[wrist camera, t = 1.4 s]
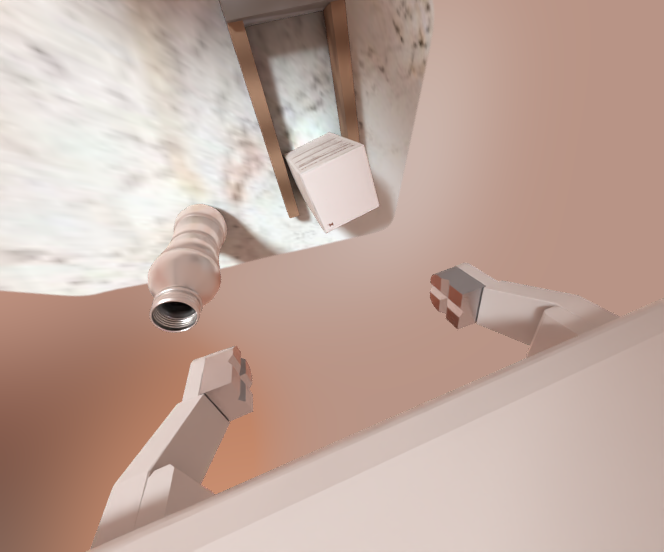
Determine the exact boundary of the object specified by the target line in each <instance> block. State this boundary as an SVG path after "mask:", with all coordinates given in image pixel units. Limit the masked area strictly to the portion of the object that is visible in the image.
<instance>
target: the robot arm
mask: <svg viewBox="0 0 664 552" xmlns="http://www.w3.org/2000/svg"><path fill="white" fill-rule="evenodd" d="M430 282H431V284H432V285H433V288H432V289H431V291H430V299H431V301H432V304H433V305H434V307H435V308H436V309H437V310H438V311H439V312H442V313H445V314H446V319H447V320H448V321H449V322H450V323H451V324H452V325H453V326H454V327H455V328H457V329H460V328H462V327H465V326H468V325H471V324H473V323H476V322H477V324H479V325H481V326H483V327H486V328H488V329H491V330H493V331H495V332H498V333H500V334H503V335H505V336H508V337H510V338H512V339H515V340H517V341H520V342H522V343H525V344H527V345H530V347H529V349H528V352H527V354H526V359H523V360H521V361H519V362H517V363H514V364H512V365H510V366H508V367H505V368H503V369H501V370H498V371H496V372H494V373H492V374H489V375H487V376H485V377H482V378H480V379H478V380H476V381H473V382H471V383H469V384H467V385H464V386H462V387H460V388H457V389H455V390H453V391H450V392H448V393H446V394H444V395H441V396H439V397H437V398H434V399H432V400H430V401H428V402H425V403H423V404H421V405H418V406H416V407H414V408H412V409H409V410H407V411H405V412H403V413H400V414H398V415H396V416H393V417H391V418H389V419H387V420H384V421H382V422H380V423H378V424H375V425H373V426H371V427H368V428H366V429H364V430H362V431H359V432H357V433H355V434H353V435H350V436H348V437H346V438H344V439H341V440H339V441H337V442H334V443H332V444H330V445H328V446H325V447H323V448H321V449H319V450H316V451H314V452H311V453H309V454H307V455H305V456H302V457H300V458H298V459H296V460H293V461H291V462H289V463H286V464H284V465H282V466H280V467H277V468H275V469H273V470H270V471H268V472H266V473H264V474H261V475H259V476H257V477H255V478H252V479H250V480H248V481H245V482H243V483H241V484H239V485H236V486H234V487H232V488H229V489H227V490H225V491H223V492H221V493H218V494H216V495H215V494H214V493H213V492H212V491H211V490H209V489H207V488H206V487H204V486H203V485H201V483H202V481H203V479H204V476H205V475H206V473H207V470H208V468H209V466H210V464H211V462H212V460H213V458H214V455H215V453H216V451H217V449H218V447H219V445H220V443H221V440H222V438H223V436H224V434H225V432H226V430H227V427H228V426H229V423H230V422H229V421H231V420H234V419H236V418H239V417H241V416H243V415H246V414H248V413H250V412H253V394H252V393H251V391H250V390H249V388H250V387H251V385H252V375H251V370H250V367H249V365H248V363H247V361H246V360H245V359H243V358H241V351H240V350H239V349H238V347H237V346H233V347H230V348H227V349H224V350H221V351H218V352H215V353H212V354H210V355H207V356H204V357H201V358H198V359H195V360H193V362H192V363H191V365H190V370H189V374H188V378H187V383H186V387H185V391H184V396H183V400H182V402H181V403H178V404H177V405H176V406H175V408H174V409H173V410H172V412H171V413H170V414H169V415H168V417H167V418H166V419H165V420H164V422H163V423H162V424H161V426H160V427H159V428H158V429H157V431H156V432H155V433H154V434H153V436H152V437H151V438H150V440H149V441H148V442H147V443H146V445H145V446H144V447H143V449H142V450H141V451H140V452H139V454H138V455H137V456H136V458H135V459H134V460H133V461H132V463H131V464H130V465H129V466H128V468H127V469H126V470H125V472H124V473H123V474H122V475H121V477H120V478H119V479H118V481H117V482H116V483H115V484H114V486H113V489H112V491H111V494H110V496H109V499H108V502H107V505H106V507H105V510H104V513H103V516H102V518H101V521H100V524H99V526H98V529H97V532H96V535H95V537H94V540H93V543H92V546H91V549H90V550H88V551H86V552H664V298H662V299H660V300H658V301H655V302H653V303H651V304H649V305H646V306H644V307H642V308H640V309H638V310H635V311H633V312H630V313H628V314H626V315H624V316H622V317H619V316H618V315H616V314H613V313H612V312H609V311H608V310H606V309H604V308H602V307H600V306H598V305H596V304H594V303H592V302H590V301H588V300H586V299H584V298H582V297H580V296H579V295H573V294H568V293H563V292H558V291H553V290H548V289H542V288H537V287H532V286H527V285H522V284H517V283H512V282H507V281H499V282H498V281H497V280H495V279H493V278H492V277H490V276H488V275H487V274H485V273H483V272H482V271H480V270H479V269H477V268H475V267H474V266H472V265H470V264H469V263H463V264H460V265H457V266H455V267H452V268H449V269H447V270H444V271H441V272H439V273H436V274H433V275H432V277H431V281H430Z"/></svg>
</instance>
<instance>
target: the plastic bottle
mask: <svg viewBox="0 0 664 552" xmlns="http://www.w3.org/2000/svg"><path fill="white" fill-rule="evenodd" d="M226 236H227V225H226V222H225V219H224V217H223V216H222V214H221V213H220V212H219V211H218V210H216V209H215V208H213V207H211V206H208V205H205V204H194V205H191V206H188V207H187V208H185V209H184V210H182V211H181V212H180V213H179V214H178V216H177V217H176V220H175V224H174V234H173V238H172V240H171V242H170V243H169V245H168V247H167V248H166V249H165V250H164V251H163V252H162V253H161V255H160V256H159V257H158V258H157V259H156V260H155V261H154V262H153V264H152V265H151V267H150V269H149V272H148V287H149V290H150V292H151V294H152V295H153V297H154V300H153V303H152V308H151V310H150V320H151V322H152V324H153V325H154V326H156V327H157V328H159V329H160V330H163V331H166V332H183V331H186V330H189V329H191V328H192V327H194V326H195V325H196V324H197V322H198V320H199V317H200V313H201V311H202V308H203V306H204V305H205V304H207V303H209V302H210V301H211V300H212V299H213V298H214V296H215V295H216V293H217V292H218V290H219V287H220V283H221V274H220V267H219V252H220V249H221V246H222V245H223V243H224V241H225V239H226Z"/></svg>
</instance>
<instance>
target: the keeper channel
mask: <svg viewBox="0 0 664 552" xmlns="http://www.w3.org/2000/svg"><path fill="white" fill-rule="evenodd" d="M219 2H220V5H221V8H222V12H223V15H224V18H225V21H226V24H227V27H228V30H229V33H230V36H231V39H232V43H233V46H234V49H235V52H236V55H237V58H238V61H239V64H240V67H241V70H242V73H243V77H244V80H245V83H246V86H247V89H248V92H249V95H250V98H251V101H252V104H253V107H254V111H255V114H256V117H257V120H258V123H259V126H260V129H261V132H262V135H263V138H264V141H265V145H266V148H267V151H268V154H269V157H270V160H271V163H272V166H273V169H274V172H275V176H276V179H277V182H278V185H279V188H280V191H281V194H282V197H283V200H284V203H285V206H286V210H287V212H288V215H289V217H290V218H292V217H296V216H299V212H298V208H297V205H296V201H295V198H294V194H293V191H292V188H291V184H290V181H289V177H288V174H287V171H286V167H285V164H284V160H283V157H282V153H281V150H280V147H279V143H278V140H277V136H276V133H275V129H274V126H273V123H272V119H271V116H270V112H269V109H268V106H267V102H266V99H265V95H264V92H263V88H262V85H261V82H260V78H259V75H258V71H257V68H256V64H255V61H254V58H253V54H252V51H251V47H250V44H249V40H248V37H247V34H246V30H245V27H246V26H250V25H255V24H260V23H265V22H269V21H274V20H279V19H284V18H288V17H293V16H298V15H303V14H307V13H312V12H317V11H322V10H323V14H324V20H325V27H326V34H327V41H328V48H329V55H330V62H331V69H332V76H333V82H334V89H335V96H336V103H337V110H338V117H339V124H340V131H341V136H342V137H344V138H347V139H350V140H353V141H355V142H358V143H360V140H359V131H358V121H357V112H356V102H355V93H354V83H353V74H352V64H351V55H350V45H349V36H348V26H347V17H346V7H345V0H219Z"/></svg>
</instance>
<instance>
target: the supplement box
mask: <svg viewBox="0 0 664 552" xmlns="http://www.w3.org/2000/svg"><path fill="white" fill-rule="evenodd" d="M284 158H285V160H286V162H287V165H288V167H289V169H290V171H291V174H292V176H293V178H294V180H295V182H296V184H297V187H298V189H299V191H300V193H301V195H302V197H303V199H304V200H305V202H306V204H307V205H308V207H309V208H310V210H311V211H312V213H313V215H314V216H315V218H316V219H317V221H318V223H319V224H320V226H321V227H322V229H323V230H324V232H325V233H328V232H330V231H332V230H334V229H335V228H337V227H340V226H342V225H344V224H346V223H348V222H350V221H352V220H354V219H356V218H358V217H360V216H362V215H364V214H366V213H368V212H370V211H372V210H374V209H376V208H377V207H379V201H378V197H377V193H376V189H375V185H374V181H373V177H372V173H371V169H370V165H369V162H368V158H367V154H366V150H365V146H364V144H361V143H358V142H355V141H353V140H350V139H347V138H344V137H342V136H339V135H336V134H334V133H331V132H328V133H326V134H324V135H322V136H320V137H318V138H316V139H314V140H312V141H310V142H308V143H306V144H304V145H302V146H300V147H298V148H296V149H294V150H292V151H290V152H288V153H286V154H284Z"/></svg>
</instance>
